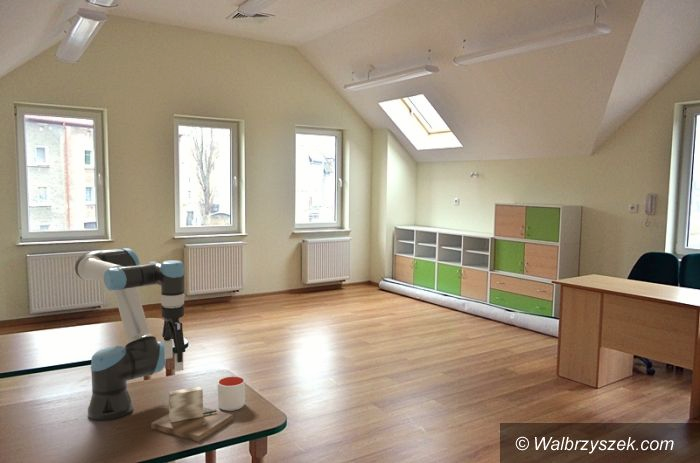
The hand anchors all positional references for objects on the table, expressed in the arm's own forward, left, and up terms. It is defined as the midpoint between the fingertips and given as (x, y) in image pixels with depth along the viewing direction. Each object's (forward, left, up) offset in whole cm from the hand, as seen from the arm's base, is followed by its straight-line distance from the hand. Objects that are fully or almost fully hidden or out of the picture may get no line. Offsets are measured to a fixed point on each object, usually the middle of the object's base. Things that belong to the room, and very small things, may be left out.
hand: (173, 364), depth 190 cm
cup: (+10, +20, -22) cm, 31 cm away
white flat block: (+6, +3, -19) cm, 20 cm away
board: (+7, +2, -21) cm, 22 cm away
